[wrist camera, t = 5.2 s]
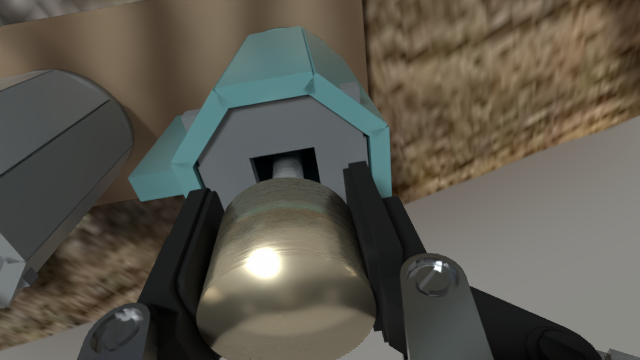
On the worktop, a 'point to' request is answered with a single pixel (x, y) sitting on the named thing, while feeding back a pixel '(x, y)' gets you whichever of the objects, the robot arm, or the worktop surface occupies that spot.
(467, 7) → the worktop surface
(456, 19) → the worktop surface
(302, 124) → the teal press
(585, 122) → the worktop surface
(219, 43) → the board
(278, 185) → the beige knobbed plunger
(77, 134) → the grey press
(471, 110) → the worktop surface
